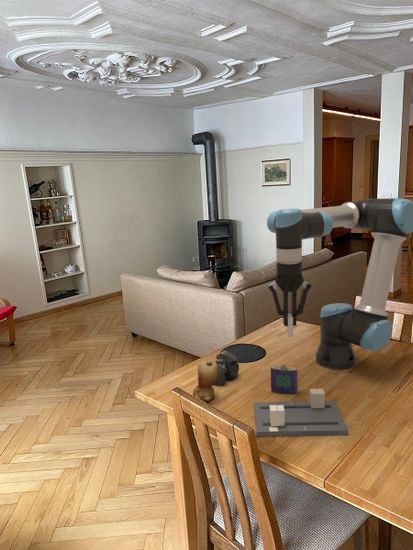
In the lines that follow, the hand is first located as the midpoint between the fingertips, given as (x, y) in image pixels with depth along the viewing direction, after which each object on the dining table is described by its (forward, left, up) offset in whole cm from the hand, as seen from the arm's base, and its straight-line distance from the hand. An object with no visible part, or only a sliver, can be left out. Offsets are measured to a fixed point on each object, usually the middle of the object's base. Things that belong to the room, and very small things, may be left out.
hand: (290, 335), depth 128 cm
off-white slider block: (-8, +3, -23) cm, 24 cm away
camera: (+22, -20, -25) cm, 39 cm away
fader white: (+6, +12, -23) cm, 26 cm away
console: (-1, +8, -24) cm, 26 cm away
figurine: (+28, -6, -25) cm, 38 cm away
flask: (+1, -9, -25) cm, 26 cm away
